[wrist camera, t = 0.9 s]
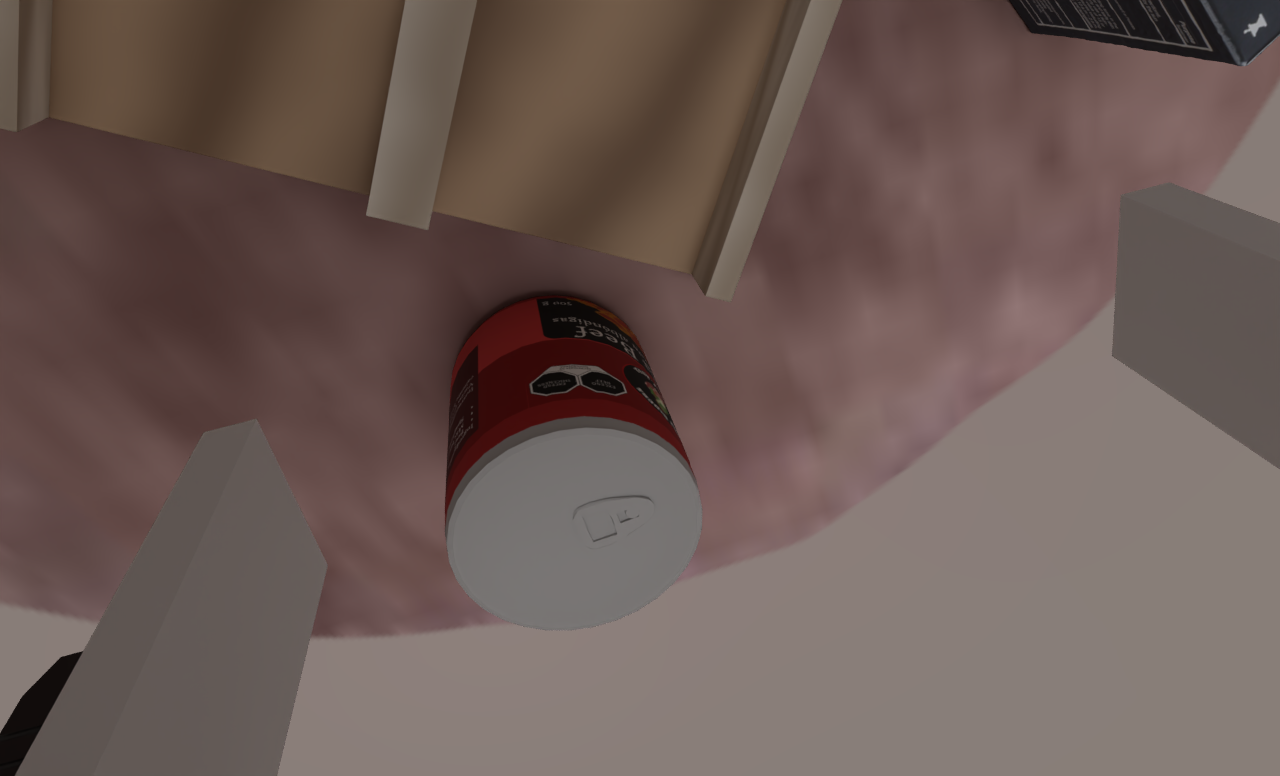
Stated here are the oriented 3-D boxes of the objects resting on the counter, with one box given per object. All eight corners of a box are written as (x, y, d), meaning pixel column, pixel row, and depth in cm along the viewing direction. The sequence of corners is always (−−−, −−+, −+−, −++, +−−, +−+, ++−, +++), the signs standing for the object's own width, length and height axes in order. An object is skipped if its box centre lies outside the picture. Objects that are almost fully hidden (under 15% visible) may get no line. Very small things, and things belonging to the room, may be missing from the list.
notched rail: (29, 101, 29) (-23, 123, 26) (38, -296, 25) (-23, -326, 22) (708, 269, 36) (730, 302, 33) (810, -20, 31) (846, -13, 28)
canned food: (678, 387, 38) (748, 544, 28) (526, 488, 39) (546, 673, 30) (574, 248, 34) (614, 375, 25) (410, 364, 36) (389, 528, 26)
